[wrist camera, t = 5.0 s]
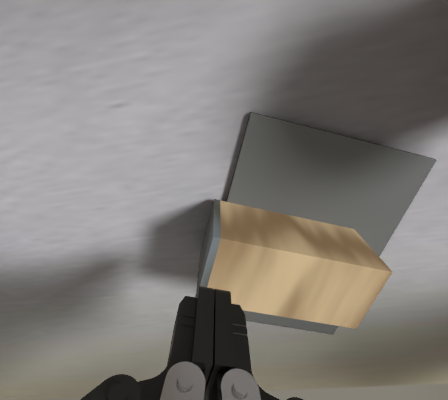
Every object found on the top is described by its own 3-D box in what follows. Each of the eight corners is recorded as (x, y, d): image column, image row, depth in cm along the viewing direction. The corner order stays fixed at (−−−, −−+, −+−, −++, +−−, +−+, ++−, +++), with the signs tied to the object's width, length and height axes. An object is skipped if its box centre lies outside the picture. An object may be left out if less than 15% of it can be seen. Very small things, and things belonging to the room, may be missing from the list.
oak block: (214, 199, 17) (354, 228, 19) (200, 254, 19) (328, 278, 20) (213, 237, 13) (392, 272, 15) (195, 302, 15) (356, 328, 16)
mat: (431, 158, 17) (436, 159, 17) (331, 330, 23) (333, 334, 23) (250, 112, 16) (251, 112, 15) (197, 309, 22) (196, 312, 22)
